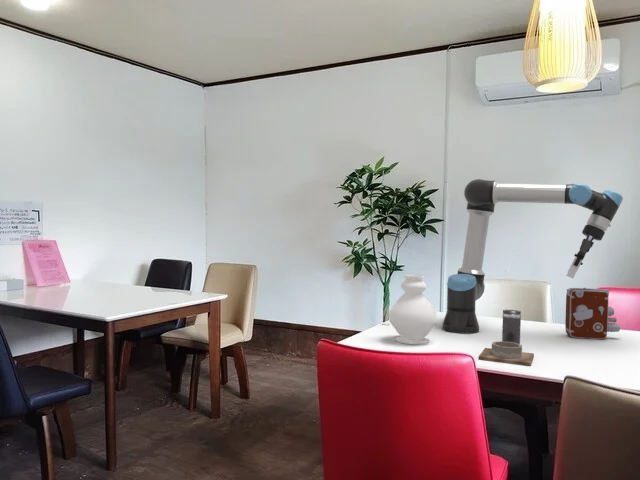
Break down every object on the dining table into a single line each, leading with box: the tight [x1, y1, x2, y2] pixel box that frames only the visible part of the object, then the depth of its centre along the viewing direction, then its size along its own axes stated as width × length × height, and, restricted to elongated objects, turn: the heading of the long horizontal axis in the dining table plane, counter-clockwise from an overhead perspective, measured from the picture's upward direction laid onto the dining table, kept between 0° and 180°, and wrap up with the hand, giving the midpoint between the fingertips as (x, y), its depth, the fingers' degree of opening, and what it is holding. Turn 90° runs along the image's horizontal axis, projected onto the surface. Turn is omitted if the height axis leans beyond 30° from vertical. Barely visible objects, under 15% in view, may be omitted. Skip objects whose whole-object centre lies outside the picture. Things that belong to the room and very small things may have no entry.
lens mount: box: [477, 340, 535, 367], centre depth 171 cm, size 16×14×4 cm
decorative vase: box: [388, 274, 438, 345], centre depth 194 cm, size 18×18×25 cm
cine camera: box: [565, 287, 621, 340], centre depth 206 cm, size 9×19×20 cm, turn 78°
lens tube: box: [501, 309, 522, 345], centre depth 182 cm, size 6×6×14 cm
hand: (570, 275), depth 203 cm, fingers open, 13 cm apart
